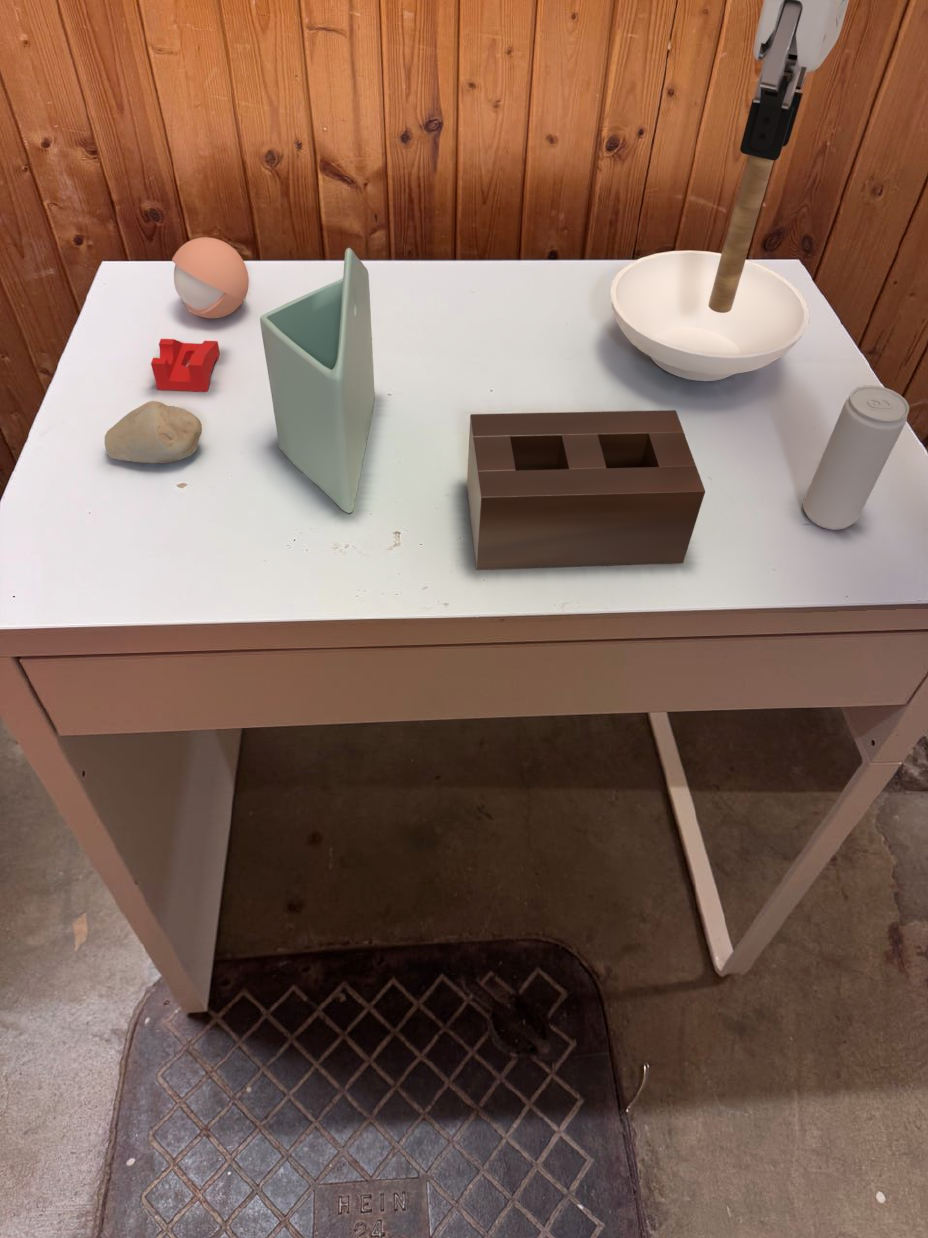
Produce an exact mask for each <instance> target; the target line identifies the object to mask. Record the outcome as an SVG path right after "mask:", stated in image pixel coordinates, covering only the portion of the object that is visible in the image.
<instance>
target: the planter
mask: <svg viewBox="0 0 928 1238" xmlns="http://www.w3.org/2000/svg"><path fill="white" fill-rule="evenodd" d="M343 261H344V263H343V274H342V275H343V276H342V278H341V279H338V280H335V281H334V282H332V283H329V284H326V285H325V286H322V287H320V288H317V289H316V290H313V291H311V292H308V293H306V294H304V295H301V296H300V297H298V298H295V299H293V300H291V301H289V302H286V303H285V304H282V305H280V306H278V307H276V308H274V309H272V310H270V311H268V312H266V313H264V314H262V315H261V316H260V318H259V323H260V330H261V337H262V344H263V350H264V357H265V363H266V370H267V375H268V381H269V387H270V395H271V401H272V408H273V414H274V421H275V427H276V434H277V441H278V442H277V443H278V448H279V449H280V450H281V451H282V452H283V454H284V455H285V456H286V457H287V458H288V460H289V461H290V462H291V463H292V465H294V466H295V467H296V468H297V469H298V470H299V471H300V472H302V474H304V476H306V477H307V478H308V480H310V481H311V482H313V484H315V485H316V486H317V487H318V488H319V489H320V490H321V491H323V492H324V493H325V494H326V496H328V497H329V498H330V499H331V500H332V501H333V502H334V503H335V504H336V505H337V506H338V507H339V508H340V509H341V510H342V511H343V512H345V513H348V514H351V513H352V512H354V509H355V504H356V499H357V494H358V488H359V484H360V478H361V474H362V469H363V463H364V459H365V454H366V448H367V444H368V438H369V433H370V427H371V423H372V417H373V413H374V408H375V401H376V396H375V395H376V393H375V374H374V355H373V354H374V353H373V334H372V313H371V310H372V309H371V294H370V290H371V289H370V277H369V271H368V268H367V267H366V266H365V265H364V263H363V262H362V261H361V260H360V258H359V257H358V256H357V255H356V253H355V251H354V250H353V249H352V248H350V247H347V248H346V249H345V251H344V260H343Z"/></svg>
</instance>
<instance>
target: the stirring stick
mask: <svg viewBox="0 0 928 1238" xmlns="http://www.w3.org/2000/svg"><path fill="white" fill-rule="evenodd" d="M790 74H791V73H787V72H784V76H788V81H789V78H790ZM774 162H775V160H774V161H773V160H769V159H764V158H760V157H756V156H751V155H747V154H746V159H745V163H744V165H743V170H742V173H741V178H740V182H739V185H738V189H737V192H736V196H735V201H734V205H733V208H732V211H731V215H730V220H729V223H728V226H727V227H728V228H727V231H726V235H725V239H724V242H723V247H722V251H721V253H720V254H721V258H720V262H719V265H718V269H717V273H716V277H715V281H714V284H713V288H712V292H711V296H710V300H709V304H708V306H709V308H710V309H711V310H713V311H715V312H719V313H726V312H729V311H730V310H731V309H732V306H733V302H734V299H735V295H736V292H737V288H738V285H739V281H740V278H741V274H742V271H743V267H744V264H745V260H747V257H748V253H749V249H750V246H751V243H752V239H753V236H754V232H755V229H756V225H757V221H758V219H759V214H760V211H761V207H762V203H763V200H764V197H765V194H766V189H767V186H768V182H769V179H770V176H771V171H772V169H773V166H774Z"/></svg>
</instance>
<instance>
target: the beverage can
mask: <svg viewBox="0 0 928 1238" xmlns="http://www.w3.org/2000/svg"><path fill="white" fill-rule="evenodd" d="M909 412H910V406H909V402H908V401H907V400H906V399H905V398H904V397H903V396H902V395H901V394H900V393H898V392H897V391H894V390H893V389H890V388H887V387H884V386H880V385H871V384H870V385H862V386H858V387H856V388H854V389H853V390H852V391H851V392H850V393H849V396H848V397H847V399H845V401H844V403H843V406H842V409H841V410H840V413H839V415H838V418H837V420H836V423H835V425H834V428H833V430H832V432H831V434H830V437H829V439H828V441H827V444H826V446H825V449H824V450H823V453H822V455H821V458H820V460H819V463H818V465H817V468H816V470H815V472H814V474H813V477H812V478H811V482H810V483H809V487H808V489H807V491H806V494H805V495H804V498H803V503H802V507H803V511H804V513H805V515H806V516H807V518H808V519H809V520H810V521H811V523H814V524H815V525H816V526H818V527H821V528H823V529H827V530H832V531H837V530H843V529H847V528H848V527H850V526H852V525H854V524H855V523H856V522H857V521H858V520H859V518H860V515H861V514H862V511H863V509H864V508H865V505H866V503H867V502H868V499H869V498H870V495H871V493H872V491H873V489H874V487H875V485H876V483H877V482H878V479H879V478H880V476H881V473H882V471H883V469H884V467H885V465H886V463H887V461H888V460H889V457H890V455H891V454H892V451H893V449H894V447H895V445H896V443H897V441H898V439H899V437H900V435H901V433H902V431H903V429H904V427H905V425H906V423H907V420H908V414H909Z"/></svg>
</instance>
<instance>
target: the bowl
mask: <svg viewBox="0 0 928 1238" xmlns="http://www.w3.org/2000/svg"><path fill="white" fill-rule="evenodd" d="M721 254H722V253H719V252H713V251H706V250H670V251H664V252H658V253H653V254H650V255H647V256H643V257H640V258H638V259H636V260H634V261H632V262H629V263H627V265H625V266H624V267H623V268H622V269H620V270H618V273H617V274H616V275H615V276H614V278H613V279H612V282H611V286H610V291H609V292H610V304H611V309H612V314H613V316H614V319H615V320H616V323H617V326H619V328H620V330H621V331H622V333H623V335H624V336H625V337H626V338H627V339H628V340H629V342H630V343H631V344H632V345H633V346H634V347H636V348H637V349H638V350H639V351H640V352H642V353H644V354H645V355H647V356H648V357H650V358H651V359H652V361H653V362H654V363H655V364H656V365H657V366H658V367H660V368H661V370H664V371H666V372H667V373H669V374H671V375H673V376H676V377H679V378H682V379H685V380H691V381H695V382H711V381H712V382H715V381H719V380H723V379H727V378H729V377H731V376H733V375H734V374H735V375H736V374H742V373H748V372H753V371H756V370H759V369H761V368H765V367H766V366H768V365H770V364H772V363H773V362H775V361H776V360H778V359H779V358H781V357H783V356H785V355H786V354H787V353H788V352H789V351H790V350H791V349H792V348H794V346H795V345H796V344H797V343H798V342H799V340H801V339H802V338H803V336H804V334H805V332H806V330H807V328H808V325H809V323H810V311H809V305H808V304H807V300H805V298H804V296H803V295H802V294H801V292H800V291H799V290H798V289H797V288H796V286H794V285H793V284H792V283H791V282H790V281H789V280H787V279H786V278H784V277H782V275H780V274H778V273H777V272H775V271H773V270H771V269H769V268H767V267H765V266H763V265H761V264H758V263H756V262H753V261H750V260H747V259H746V260H745V264H744V267H743V271H742V274H741V278H740V281H739V285H738V288H737V292H736V295H735V299H734V302H733V306H732V309H731V310H730V311H729V312H726V313H719V312H715V311H713V310H711V309H710V308H709V306H708V304H709V300H710V296H711V292H712V288H713V284H714V281H715V277H716V273H717V269H718V265H719V262H720V258H721Z"/></svg>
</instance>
